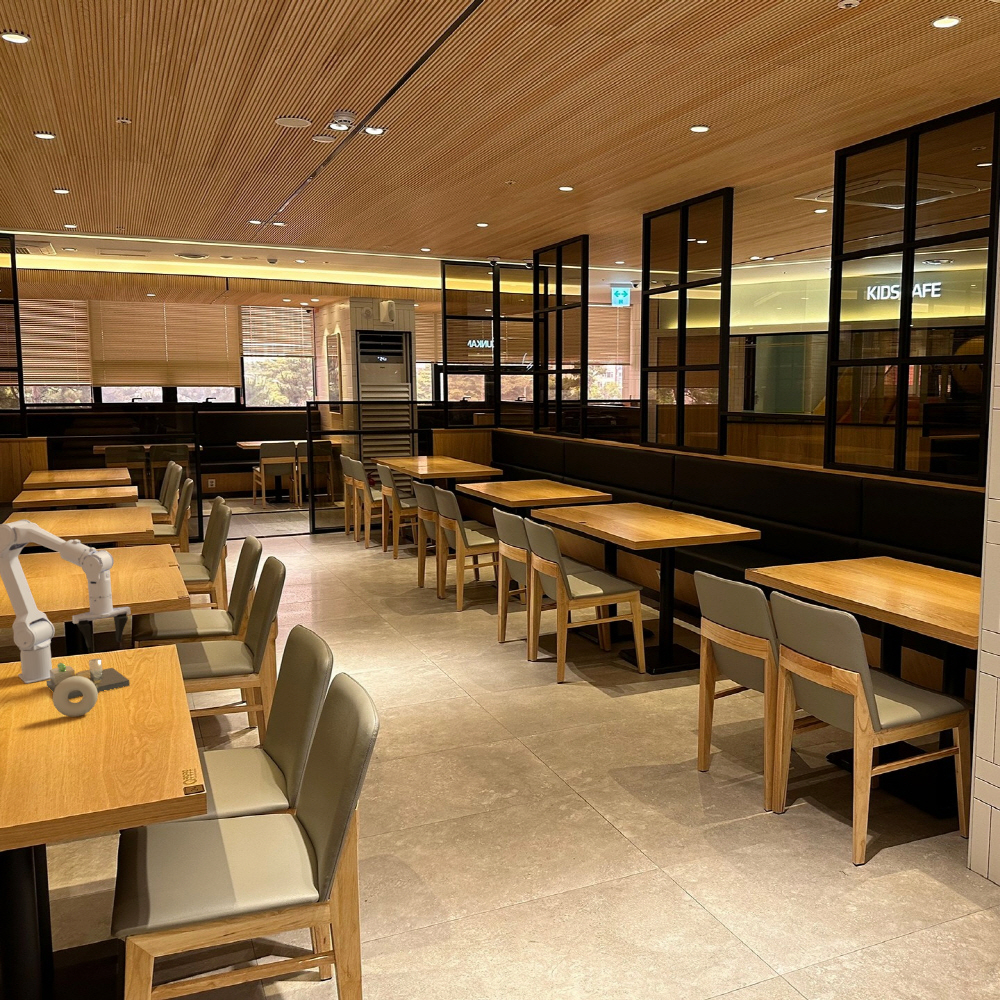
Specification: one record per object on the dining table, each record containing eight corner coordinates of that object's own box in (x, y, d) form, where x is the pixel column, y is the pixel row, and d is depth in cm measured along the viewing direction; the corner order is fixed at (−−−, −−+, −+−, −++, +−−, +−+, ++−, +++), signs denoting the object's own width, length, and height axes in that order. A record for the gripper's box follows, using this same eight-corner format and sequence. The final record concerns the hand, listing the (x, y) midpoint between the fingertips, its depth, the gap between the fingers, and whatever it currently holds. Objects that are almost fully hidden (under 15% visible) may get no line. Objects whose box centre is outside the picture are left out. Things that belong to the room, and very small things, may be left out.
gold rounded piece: (72, 680, 240) (70, 655, 239) (95, 675, 244) (93, 650, 243) (87, 690, 232) (85, 664, 231) (111, 684, 236) (109, 658, 235)
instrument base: (47, 686, 241) (45, 664, 240) (112, 672, 251) (111, 651, 251) (61, 700, 229) (59, 677, 228) (129, 685, 240) (127, 663, 239)
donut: (99, 710, 221) (96, 671, 220) (99, 715, 218) (96, 675, 217) (54, 717, 217) (51, 677, 216) (53, 721, 214) (50, 681, 213)
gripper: (75, 602, 235) (79, 652, 237) (132, 593, 244) (136, 642, 246) (68, 598, 240) (72, 647, 242) (124, 589, 250) (128, 637, 251)
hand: (104, 644), depth 244 cm, fingers open, 7 cm apart
